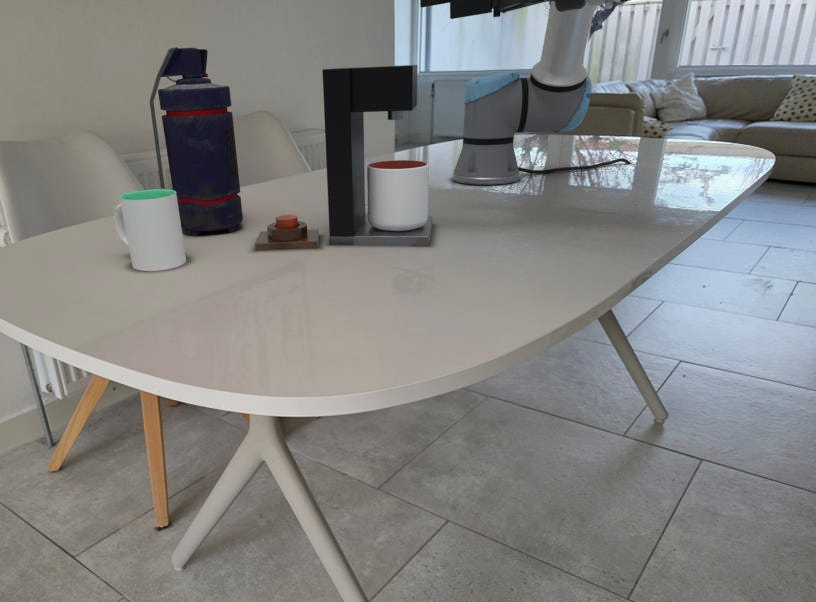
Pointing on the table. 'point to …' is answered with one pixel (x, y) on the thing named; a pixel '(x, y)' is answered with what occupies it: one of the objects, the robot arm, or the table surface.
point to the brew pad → (287, 238)
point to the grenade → (198, 143)
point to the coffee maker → (362, 147)
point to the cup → (398, 194)
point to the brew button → (286, 221)
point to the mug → (151, 229)
